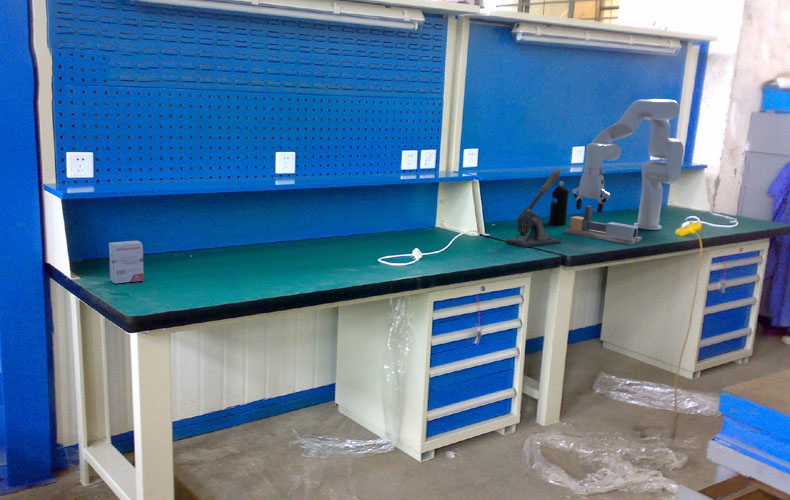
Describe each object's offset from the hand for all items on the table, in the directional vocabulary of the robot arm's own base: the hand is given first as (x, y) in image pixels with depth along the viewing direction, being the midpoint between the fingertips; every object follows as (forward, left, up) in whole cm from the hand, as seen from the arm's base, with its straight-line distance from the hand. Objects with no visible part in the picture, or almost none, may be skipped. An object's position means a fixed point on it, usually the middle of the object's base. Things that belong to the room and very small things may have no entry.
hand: (588, 210), depth 322 cm
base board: (0, +8, -10) cm, 13 cm away
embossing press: (+38, -5, -11) cm, 40 cm away
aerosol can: (-10, -19, -11) cm, 24 cm away
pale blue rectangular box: (0, +16, -9) cm, 18 cm away
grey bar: (0, +4, -9) cm, 10 cm away
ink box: (+189, -57, -11) cm, 198 cm away
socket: (0, -4, -9) cm, 10 cm away
